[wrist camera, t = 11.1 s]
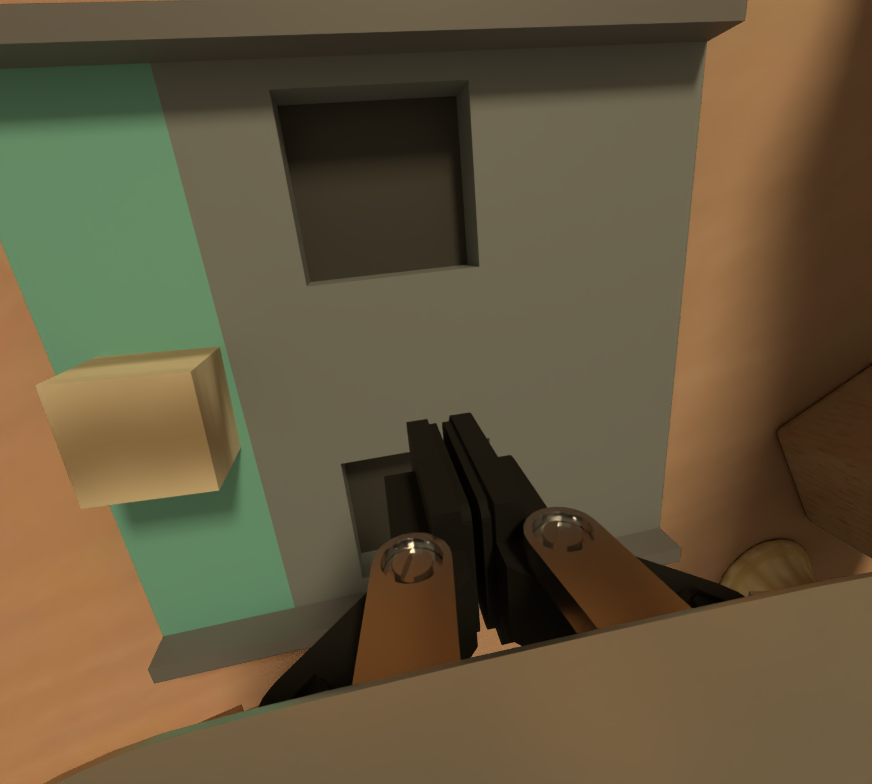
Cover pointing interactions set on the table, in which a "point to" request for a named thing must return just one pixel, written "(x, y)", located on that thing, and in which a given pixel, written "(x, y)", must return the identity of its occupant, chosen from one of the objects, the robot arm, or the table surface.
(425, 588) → the robot arm
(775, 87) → the table surface
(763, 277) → the table surface
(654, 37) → the board
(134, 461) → the block
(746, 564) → the hand bell
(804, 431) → the wooden block
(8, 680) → the table surface
